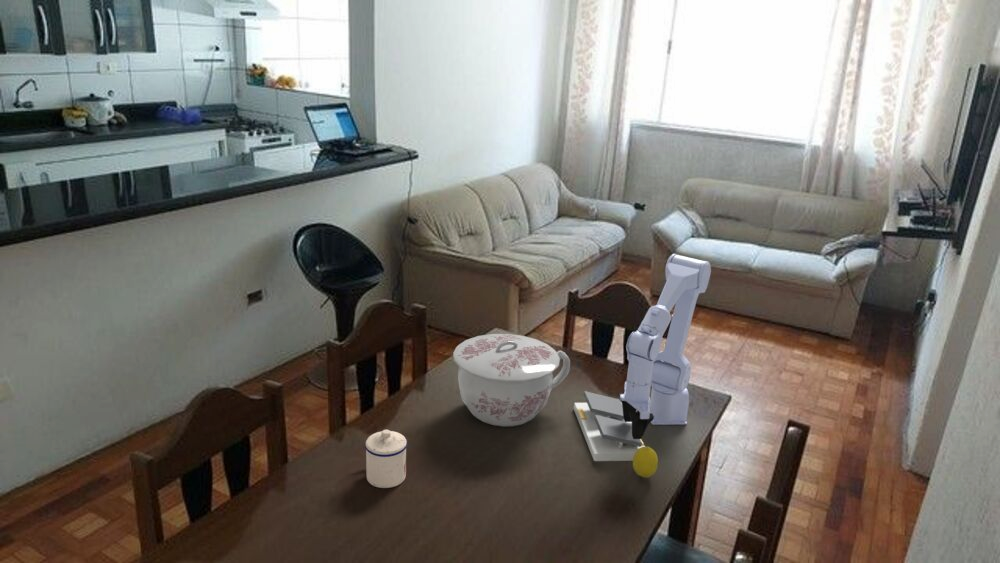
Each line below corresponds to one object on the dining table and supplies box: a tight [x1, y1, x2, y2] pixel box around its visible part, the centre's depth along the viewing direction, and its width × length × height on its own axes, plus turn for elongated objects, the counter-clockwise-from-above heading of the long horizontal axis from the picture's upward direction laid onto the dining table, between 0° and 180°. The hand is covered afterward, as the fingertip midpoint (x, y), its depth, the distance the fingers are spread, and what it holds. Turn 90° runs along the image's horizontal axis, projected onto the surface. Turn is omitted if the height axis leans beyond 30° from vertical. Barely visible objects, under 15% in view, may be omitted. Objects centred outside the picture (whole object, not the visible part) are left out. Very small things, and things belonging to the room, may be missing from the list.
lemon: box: [632, 446, 659, 478], centre depth 158 cm, size 6×6×8 cm
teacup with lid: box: [364, 429, 408, 489], centre depth 154 cm, size 12×9×12 cm
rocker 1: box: [582, 390, 624, 420], centre depth 181 cm, size 10×10×2 cm
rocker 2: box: [594, 415, 642, 447], centre depth 169 cm, size 10×10×2 cm
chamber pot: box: [452, 333, 571, 427], centre depth 180 cm, size 28×28×21 cm
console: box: [573, 401, 646, 462], centre depth 176 cm, size 13×24×3 cm, turn 6°
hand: (632, 429), depth 170 cm, fingers open, 7 cm apart
